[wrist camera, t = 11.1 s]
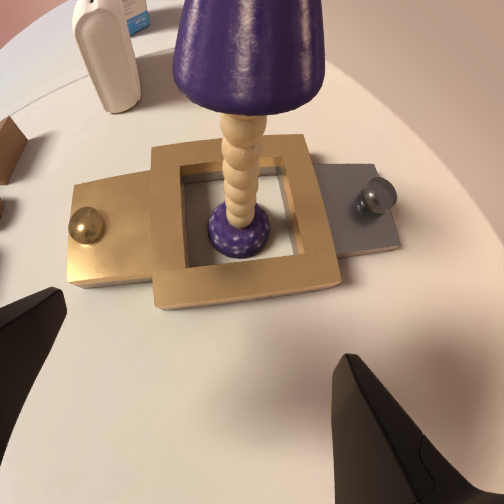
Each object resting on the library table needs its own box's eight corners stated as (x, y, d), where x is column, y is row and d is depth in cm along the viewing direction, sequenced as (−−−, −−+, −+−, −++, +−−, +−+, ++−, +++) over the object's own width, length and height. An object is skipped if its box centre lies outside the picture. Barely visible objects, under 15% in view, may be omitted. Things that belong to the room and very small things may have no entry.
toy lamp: (189, 225, 19) (121, -28, 3) (234, 182, 21) (250, -57, 5) (241, 271, 19) (288, 1, 3) (285, 223, 20) (389, -13, 4)
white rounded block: (102, 68, 24) (76, -15, 13) (136, 56, 25) (118, -30, 13) (103, 121, 22) (59, 16, 10) (145, 105, 23) (117, -8, 11)
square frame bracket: (360, 152, 23) (374, 131, 20) (398, 275, 20) (421, 265, 17) (89, 178, 20) (75, 158, 17) (84, 316, 17) (62, 311, 14)
